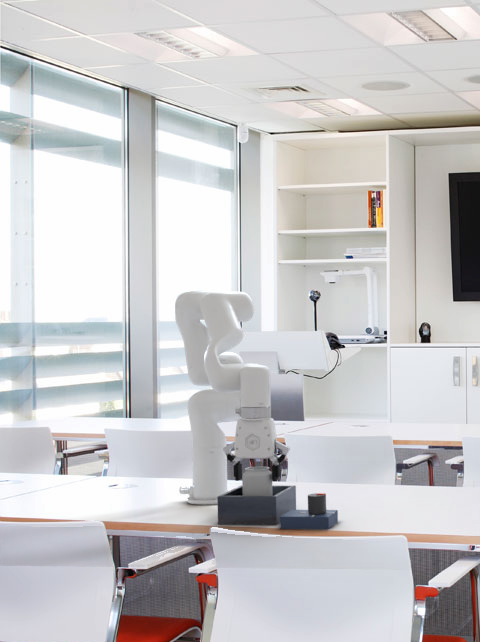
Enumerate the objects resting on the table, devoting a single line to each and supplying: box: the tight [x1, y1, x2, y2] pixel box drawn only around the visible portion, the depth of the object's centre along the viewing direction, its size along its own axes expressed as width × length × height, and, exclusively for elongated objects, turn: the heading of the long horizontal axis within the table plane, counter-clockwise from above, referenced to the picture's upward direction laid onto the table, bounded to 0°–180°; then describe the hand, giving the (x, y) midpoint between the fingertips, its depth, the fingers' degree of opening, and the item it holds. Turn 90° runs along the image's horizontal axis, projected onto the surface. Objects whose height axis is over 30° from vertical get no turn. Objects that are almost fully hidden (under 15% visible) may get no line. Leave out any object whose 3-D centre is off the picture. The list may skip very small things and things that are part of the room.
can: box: [241, 466, 273, 496], centre depth 254 cm, size 8×8×12 cm
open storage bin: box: [217, 485, 297, 526], centre depth 254 cm, size 15×17×7 cm
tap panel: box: [279, 509, 339, 530], centre depth 244 cm, size 12×9×3 cm
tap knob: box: [307, 492, 327, 515], centre depth 243 cm, size 4×4×5 cm
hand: (256, 480), depth 255 cm, fingers open, 9 cm apart
